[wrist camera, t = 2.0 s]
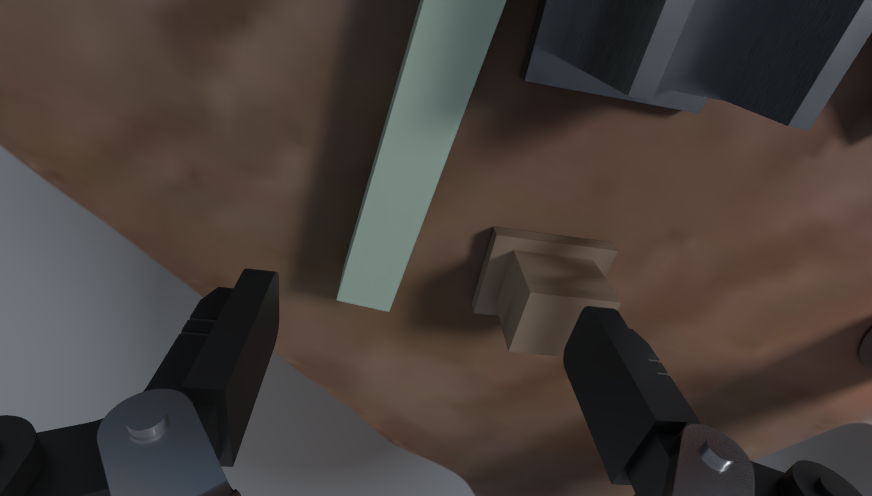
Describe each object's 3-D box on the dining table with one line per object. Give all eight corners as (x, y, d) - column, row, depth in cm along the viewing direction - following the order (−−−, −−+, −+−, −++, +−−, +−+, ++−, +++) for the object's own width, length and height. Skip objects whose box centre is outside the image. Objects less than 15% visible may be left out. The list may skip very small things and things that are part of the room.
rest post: (611, 242, 32) (650, 292, 27) (578, 314, 36) (606, 370, 31) (493, 226, 31) (511, 276, 26) (471, 303, 34) (483, 360, 29)
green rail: (527, -104, 21) (550, -118, 18) (390, 277, 33) (389, 311, 30) (459, -137, 20) (470, -158, 17) (343, 265, 32) (336, 300, 29)
